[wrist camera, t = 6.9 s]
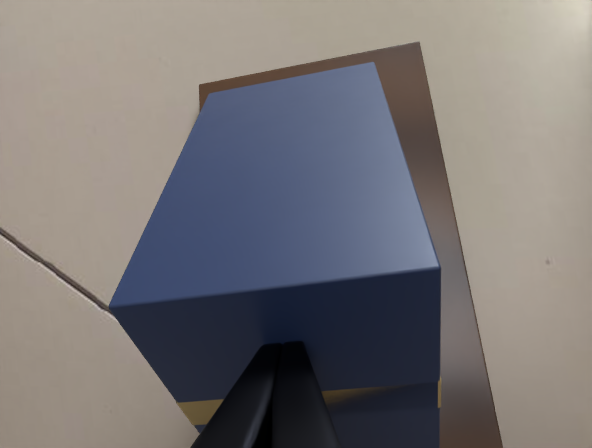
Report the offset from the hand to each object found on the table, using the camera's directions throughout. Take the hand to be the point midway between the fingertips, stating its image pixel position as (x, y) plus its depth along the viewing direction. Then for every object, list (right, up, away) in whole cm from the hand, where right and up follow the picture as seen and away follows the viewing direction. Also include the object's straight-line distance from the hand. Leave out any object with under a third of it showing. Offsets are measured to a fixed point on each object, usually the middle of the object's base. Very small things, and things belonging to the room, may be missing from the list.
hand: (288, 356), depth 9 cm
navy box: (+1, -1, +8) cm, 8 cm away
